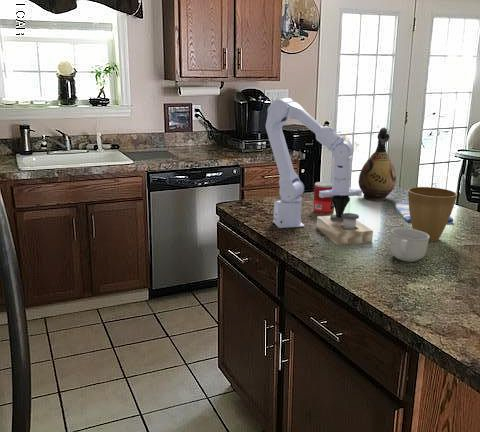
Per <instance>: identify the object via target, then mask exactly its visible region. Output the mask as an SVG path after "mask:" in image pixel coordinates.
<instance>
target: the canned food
mask: <svg viewBox="0 0 480 432" xmlns="http://www.w3.org/2000/svg"><path fill="white" fill-rule="evenodd" d="M332 184H333V182H331V181H316V182H315V183H314V189H313V211H314V212H315V213H317V214H321V215H322V214H323V215H328V214H329V215H330V214H332V213H334V211H335V207H334V204H333V202H332V199H331V197H324V198H321V197H319V191H325V190H332Z"/></svg>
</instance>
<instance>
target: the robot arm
mask: <svg viewBox="0 0 480 432" xmlns="http://www.w3.org/2000/svg"><path fill="white" fill-rule="evenodd" d="M266 109H267V117H266V121H265V130H266V134H267V137H268V141H269V144H270V147H271V149H272V150H271V151H272V153H273V157H274V161H275V163H276V167H277V170H278V174H279V180H278V186H279V191H278V192H279V193H278V194H279V196H280V200H276V201H274V203H273V220H272V222H273V224H275V226H276V227H277V229H278V228H279V229H281V228H283V229H284V228H285V229H286V228H301V227H302V228H304V227H305V224H304V223H302V205H303V204H302V203H303V199H302V195H303V193H304V191H305V185H304V183H303V182H302V181H301V180H300V176H299V174H297V172H296V171H295V169H294V166H293V165H294V164H293V162H292V159H291V156H290V152H289V149H288V144H287V142H286V138H285V134H284V132H283V126H284V125H285V123H286V121H287V120H288V119H290V120H296V121H298V122H299V123H301V124H302V125H304V126H305V127H306V128H307V129H309V130H310V131H311V132H313V133H314V134H315V140H316V141H317V142H319V143H320V144H321V145H322V146H324V148H326V149H327V150H328V151H329V152H330V153H331V154H332V157H333V158H334V159H333V170H332V171H333V173H332V183H333V184H332V190H325V191H319V197H321V198H324V197H331V199H332V202H333V204H334V211H335V215H336V217H338V218H342V217H341V214H344V212H345V209H346V208H347V205H348V204H349V202H350V200H351V197H362V194H363V192H362V190H361V189H360V188H359V189H358V188H357V189H354V188H350V187H351V186H350V185H351V174H352V172H351V170H352V157H351V156H352V155H353V154H354V152H355V151H354V149H355V148H354V146H353V144H352V143H351V141H349V140H346V139H345V138H344V137H341V136H340V135H339V134H338V133H336V132H335V128H333V127H332V126H330V127H329V125H328V126H327V125H325V126H322V125H321V124H320V123H319V122H318V121H317V120H316V119H315V118H314V117H313V116H312V115H310V113H308V111H306V110H305V109H304V108H303V107H302V106H301V105H300V104H299V103H298V102H295V101H294V100H293V99H292V98H291V97H284V98H277V99H274V100H273V101H271V103H270V104H269V106H268V108H266Z"/></svg>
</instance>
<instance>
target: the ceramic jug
mask: <svg viewBox="0 0 480 432" xmlns="http://www.w3.org/2000/svg"><path fill="white" fill-rule="evenodd" d="M377 139H378V140H377V147H376V149H375V151H374V152H372V154H371V155H370V157H369V158H368V159H367V161H366V162H365V163H364V164H363V166H362V168H361V170H360V171H359V175H358V186H359V189H360V190H362V194H363V199H364V200H368V201H374V202H375V201H378V202H379V201H380V202H381V201H385V200H386V199H387V197H388V196H389V195H390V193H392V192H393V191H394V189H395V187H396V184H397V177H396V176H397V175H396V171H395V167H394V165H393V163H392V160H391V159H390V156H389V154H388V152H387V149H386V143H388V142H389V139H390V134H389V133H388V128H386V127H381V128H380V129H379V132H378V133H377Z"/></svg>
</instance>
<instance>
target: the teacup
mask: <svg viewBox="0 0 480 432" xmlns="http://www.w3.org/2000/svg"><path fill="white" fill-rule="evenodd" d="M429 238H430V236H429V235H428V234H427V233H425V232H422V231H419V230H416V229H413V228H408V227H394V228H392V229H391V231H390V239H389V250H390V252H391V254H392V255H393V256H394V257H395V258H396V259H398V260H400V261H403V262H410V263H412V262H417V261H419V260H421V259H423V258H424V256H425V255H426V253H427V250H428V246H429V242H428V241H429Z"/></svg>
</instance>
